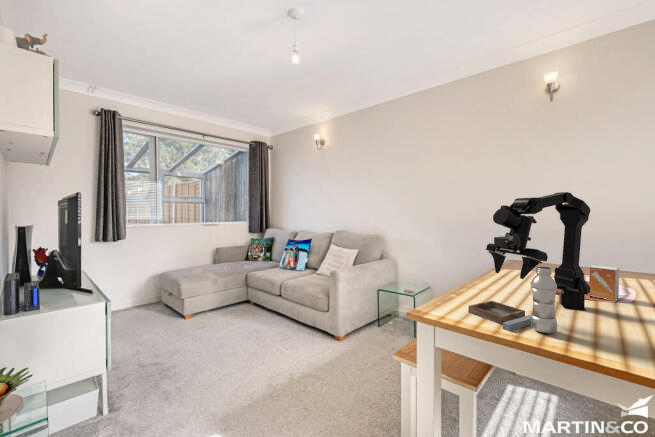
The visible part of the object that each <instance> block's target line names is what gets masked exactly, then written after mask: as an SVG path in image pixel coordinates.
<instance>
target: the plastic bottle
mask: <svg viewBox="0 0 655 437" xmlns="http://www.w3.org/2000/svg"><path fill="white" fill-rule="evenodd" d="M535 268H536V270H535V274H536V275H535V276H534V277H533V278H532V279H531V281H530V289H531V290H530V291H531V295H532V310H531V311H532V312H531V313H532V314H531V315H532V316H531V325H530V326H531V327H532V329H533V330H535V331H536V332H540V333H543V334H554V333H556V331H557V330H558V320H557V318H556V317H557V316H556V309H555V306H556V304H555V303H556V295H557V290H558V289H557V284H556V282H555V280H554V277H552V275H553V274H552V273H553V272H552V267H549V266H536V267H535Z"/></svg>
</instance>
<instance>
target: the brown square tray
mask: <svg viewBox="0 0 655 437" xmlns="http://www.w3.org/2000/svg"><path fill="white" fill-rule="evenodd" d="M467 307H468V313H470V314H473V315H474V316H477V317H481V318H482V319H485V320H489V321H491V322H493V323H496V324H499V325H503V322H507V321H510V320H514V319H518V318H521V317H525V316H526V310H523V309H520V308H517V307H513V306H510V305H507V304H504V303H500V302H497V301H494V300H488V301H484V302H480V303H473V304H470V305H468V306H467Z"/></svg>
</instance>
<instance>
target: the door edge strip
mask: <svg viewBox="0 0 655 437" xmlns="http://www.w3.org/2000/svg"><path fill="white" fill-rule="evenodd" d="M531 316H532V314H528V315H525V317H521V318H518V319H514V320H510V321H507V322H503V324H502V330H505V331H508V332H511V331H513V330H517V329H521V328H524V327H527V326H531Z"/></svg>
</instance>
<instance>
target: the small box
mask: <svg viewBox="0 0 655 437" xmlns="http://www.w3.org/2000/svg"><path fill="white" fill-rule="evenodd" d="M588 276H589V277H588V280H589V281H588V285H589V286H590V288H591V289H590V293H588V295H589V294H591V295H595V296H599V297H603V298H606V299H610V300H609V302H614V303H616V302H617V300H616V299H617V298H618V297H619V295H620V288H619V287H620V268H619V267H614V266H612V267H611V266H606V265H605V266H604V265H596V264H593V265H591V266H589V274H588ZM619 298H620V297H619ZM619 298H618V299H619Z"/></svg>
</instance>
